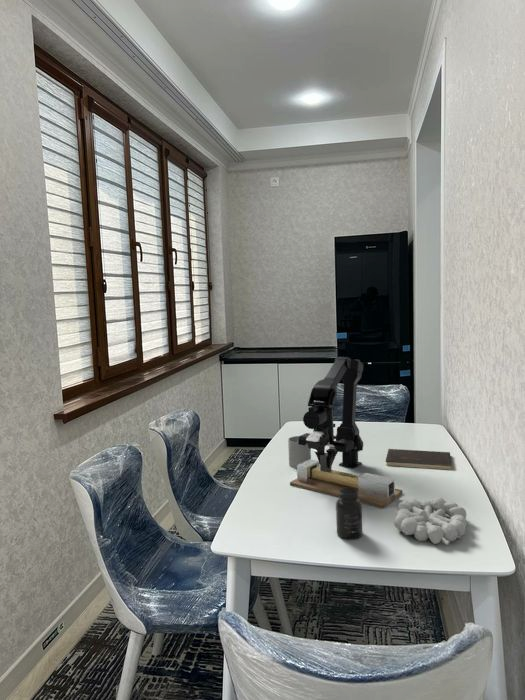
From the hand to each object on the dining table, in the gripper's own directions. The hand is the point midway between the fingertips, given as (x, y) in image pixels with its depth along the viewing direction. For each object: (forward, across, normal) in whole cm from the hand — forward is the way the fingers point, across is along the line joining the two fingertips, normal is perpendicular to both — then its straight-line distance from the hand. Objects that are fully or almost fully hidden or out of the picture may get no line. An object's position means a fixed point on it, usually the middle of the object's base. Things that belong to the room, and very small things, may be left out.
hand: (325, 467), depth 170 cm
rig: (+5, +7, 0) cm, 9 cm away
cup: (+6, -19, +12) cm, 23 cm away
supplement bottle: (+6, +24, -27) cm, 37 cm away
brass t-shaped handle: (+4, +5, 0) cm, 6 cm away
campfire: (+7, +40, -11) cm, 42 cm away
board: (+6, +7, 0) cm, 9 cm away
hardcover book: (+7, +16, +40) cm, 44 cm away
